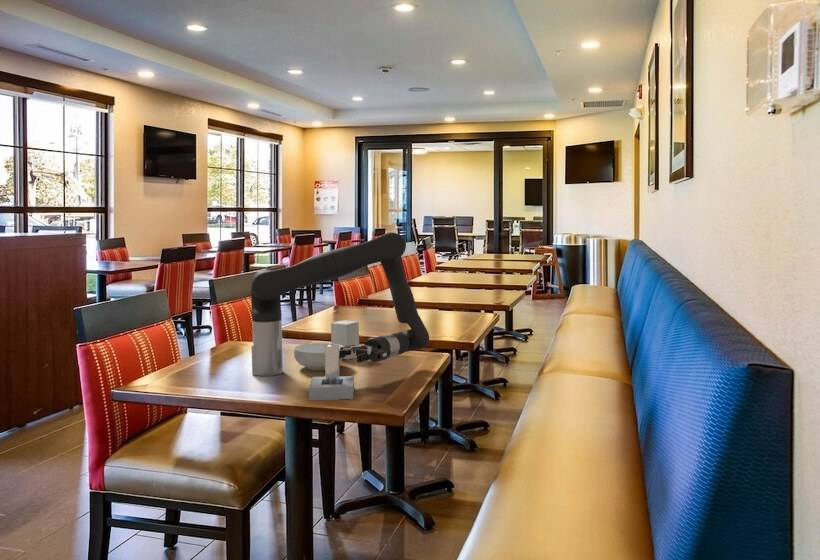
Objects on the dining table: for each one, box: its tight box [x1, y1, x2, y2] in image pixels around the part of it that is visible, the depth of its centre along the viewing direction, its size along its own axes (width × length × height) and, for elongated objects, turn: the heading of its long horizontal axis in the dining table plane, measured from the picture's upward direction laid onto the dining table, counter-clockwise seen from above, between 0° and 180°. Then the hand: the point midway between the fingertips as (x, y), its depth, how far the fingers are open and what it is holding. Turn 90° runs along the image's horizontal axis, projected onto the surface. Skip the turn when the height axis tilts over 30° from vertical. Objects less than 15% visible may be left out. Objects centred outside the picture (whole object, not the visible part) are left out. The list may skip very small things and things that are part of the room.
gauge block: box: [308, 375, 355, 401], centre depth 185 cm, size 12×12×4 cm
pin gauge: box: [324, 344, 340, 385], centre depth 185 cm, size 4×4×14 cm
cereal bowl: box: [293, 342, 344, 371], centre depth 216 cm, size 17×17×7 cm
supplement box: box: [330, 319, 360, 360], centre depth 232 cm, size 7×7×13 cm
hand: (346, 357), depth 189 cm, fingers open, 8 cm apart
